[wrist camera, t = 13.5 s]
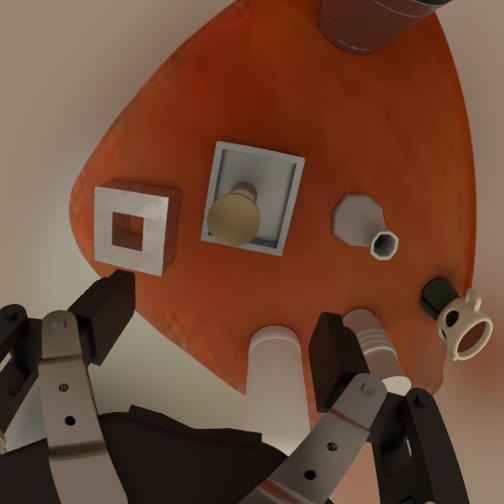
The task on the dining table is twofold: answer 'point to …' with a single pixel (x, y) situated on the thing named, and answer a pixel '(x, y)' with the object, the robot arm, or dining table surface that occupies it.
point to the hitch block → (117, 220)
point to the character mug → (457, 319)
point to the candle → (378, 350)
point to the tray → (267, 186)
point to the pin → (235, 216)
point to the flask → (363, 225)
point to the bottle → (276, 389)
